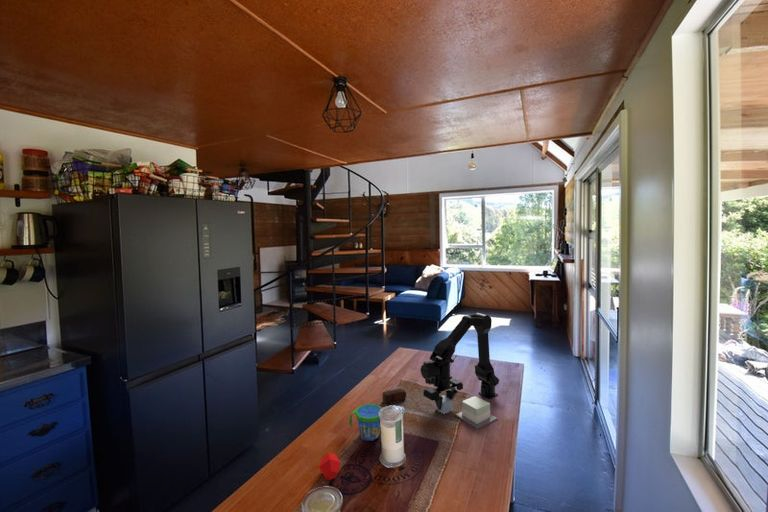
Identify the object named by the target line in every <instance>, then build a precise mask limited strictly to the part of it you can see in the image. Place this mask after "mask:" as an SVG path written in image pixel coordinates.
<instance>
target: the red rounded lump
mask: <svg viewBox="0 0 768 512" xmlns="http://www.w3.org/2000/svg"><path fill="white" fill-rule="evenodd" d="M340 465H341V460H340V459H339V458H338V456H337V455H336V454H335V453H331V452H329V451H327V453H326V454H324V455H323V456H322V457H321V460H320V463H319V466H318V467H319V469H320V471H321V473H322V474H323V476H324V478H325V480H326V481H329V480H330V481H331V480H334V479H336V477H337V476H338V474H339V471H340V470H339V469H340V467H341V466H340Z"/></svg>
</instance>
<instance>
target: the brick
mask: <svg viewBox="0 0 768 512" xmlns="http://www.w3.org/2000/svg"><path fill="white" fill-rule="evenodd" d="M406 397H407V392H406V391H405V389H403V388H401V387H400V388H396V389H392V390H386V391H383V392H382V402H383V403H384V404H385V405H386V404H388V405H390V403H392V404H394V403H393V402H395V403H398V402H397V401H399V402H402V400H403V401H405V400H406Z"/></svg>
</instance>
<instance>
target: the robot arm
mask: <svg viewBox="0 0 768 512" xmlns="http://www.w3.org/2000/svg"><path fill="white" fill-rule="evenodd" d="M472 326H473V328H474V329H475V332H476V333H477V334H476V335H477V337H476V338H477V351H478V352H477V353H478V362H477V364H476V365H474V374H475V376H476V377H477V380H478V381H481V383H480V391H478V394H479V395H481V396H483V397H484V398H487V399H489V400H490V399H493V398H495V397H497V396H498V393H497V392H496V387H497V386H498V385H499V383H500V379H499V378H498V377H497V376H496V375H495V370H494V367H493V365H492V362H491V361H490V360H491V359H490V358H491V357H490V356H491V355H490V346H489V345H490V344H489V343H490V342H489V341H490V340H489V332H490V330H491V329H492V317H491V316H490V315H488V314H484V313H480V312H476V313H475V314H468V315H464V316H462V317H461V319H460V321H459V322H458V324H457V325H456V326H455V327H454V328H453V329H452V331H451V332H450V334H449V335H448V336H447V337H446V338H444V339H442V340H440V341H439V342H438V343H437V344H436V345H435V346H434V348H433V350H432V353H431V354H430V356H429V360H428V361H424V362H423V364H422V365H421V366H420V370H419V371H420V374H421V376H422V378H423V379H424V381H425V383H426V385H430V386H429V387H427V388H425V389H423V392H422V394H423V397H425V398H427V399H429V400H430V401H434V402H435V406H436V405H437V408H438V410H441V406H442V400H443V397H441V396H442V393H444V392H445V393H446V394H445V396H446V397H448V398H450V399H451V400H452V401H453V400H454V399H455V396H456V395H457V394H458V393H459V391H461V390H463V389H464V384H463V382H461V381H460V380H458V379H456V378H453V376H452V375H451V364H452V363H455V360H454V359H452V357H453V355H454V353H455V352H456V346H457V345H458V343H459V342H460V341H461V340H462V338H464V336H465V335H466V333H468V331H469V329H471V327H472ZM431 385H433V387H434V388H433V387H431ZM435 387H436V388H435Z"/></svg>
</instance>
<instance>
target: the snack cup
mask: <svg viewBox="0 0 768 512" xmlns="http://www.w3.org/2000/svg"><path fill="white" fill-rule="evenodd" d="M381 408H382V407H381V406H380V405H378V404H374V403H366V404H362V405H360V406H358V407H357V408H356V409H354V410H353V411H351V414H350V416H349V426H350V427H352V426H353V425H354V424H353V423H354V422H353V418H352V417H353V415H355V417H356V420H357V426H358V427H357V428H358V433H359V437H360V438H361V439H362V440H363V441H367V442H369V441H372V442H373V441H374V440H376V439H378V438H379V437H380V434H381V433H380V432H381V427H380V419H379V414H378V412H379V410H380V409H381ZM374 442H375V441H374Z"/></svg>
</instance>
